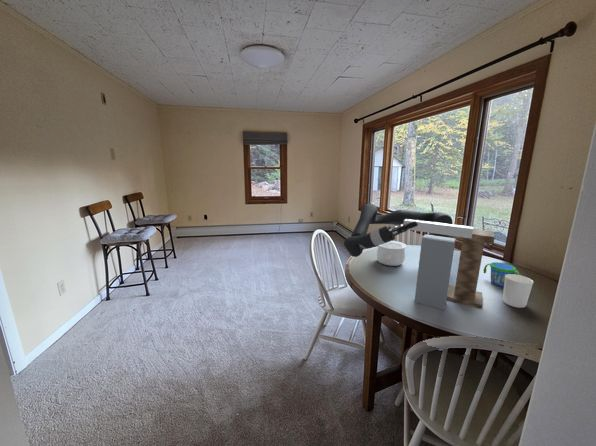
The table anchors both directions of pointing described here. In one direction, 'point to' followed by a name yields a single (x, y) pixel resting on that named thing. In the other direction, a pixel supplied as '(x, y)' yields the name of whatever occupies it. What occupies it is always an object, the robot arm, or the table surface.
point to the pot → (391, 253)
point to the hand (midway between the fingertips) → (417, 222)
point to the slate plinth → (434, 270)
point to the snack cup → (500, 272)
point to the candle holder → (516, 290)
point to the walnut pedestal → (470, 268)
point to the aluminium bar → (441, 228)
